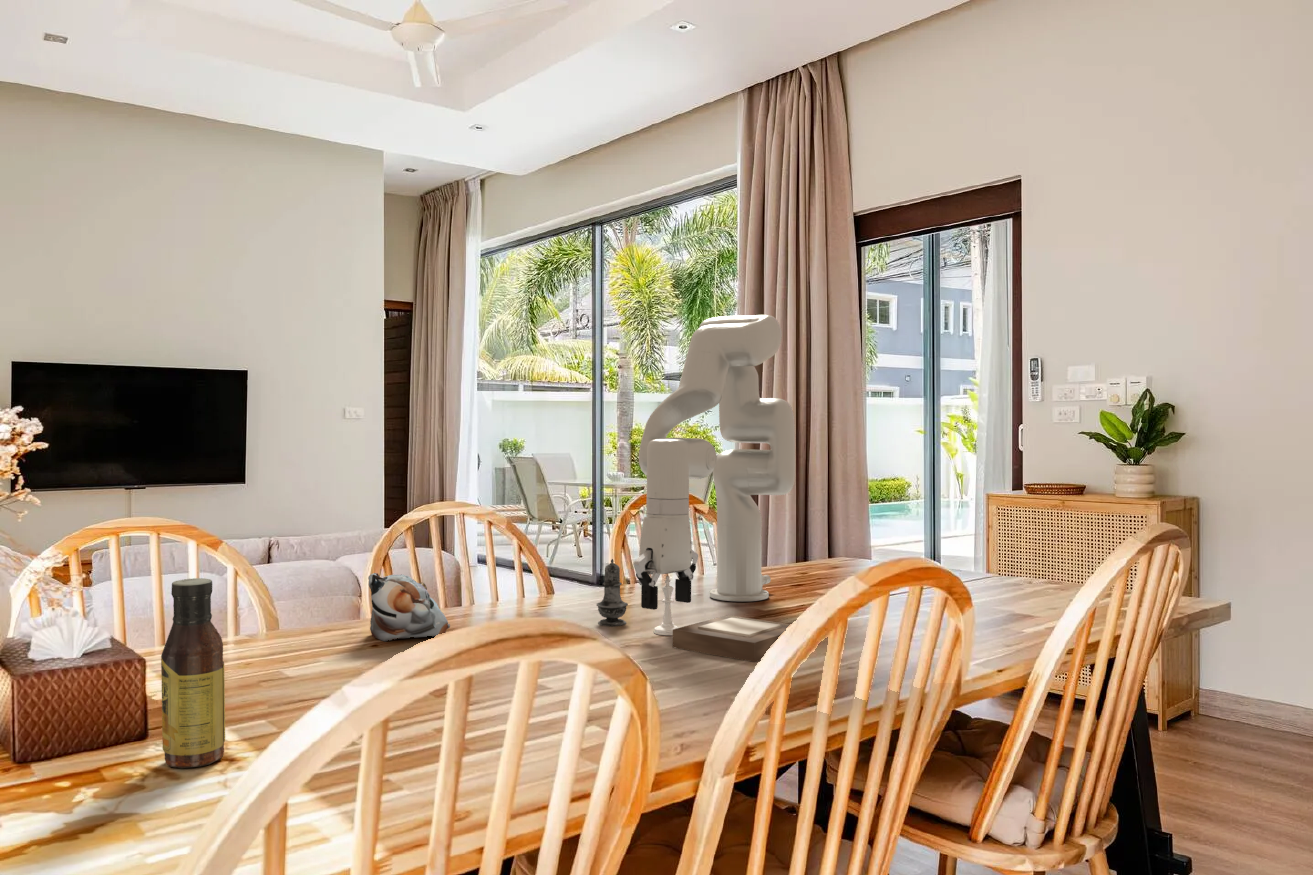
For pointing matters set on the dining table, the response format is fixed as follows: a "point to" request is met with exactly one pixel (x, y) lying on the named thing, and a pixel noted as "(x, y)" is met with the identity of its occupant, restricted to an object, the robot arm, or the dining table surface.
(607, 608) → the salt shaker
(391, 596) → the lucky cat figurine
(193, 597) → the sauce bottle
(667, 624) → the chess piece
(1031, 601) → the dining table surface
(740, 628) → the walnut base
